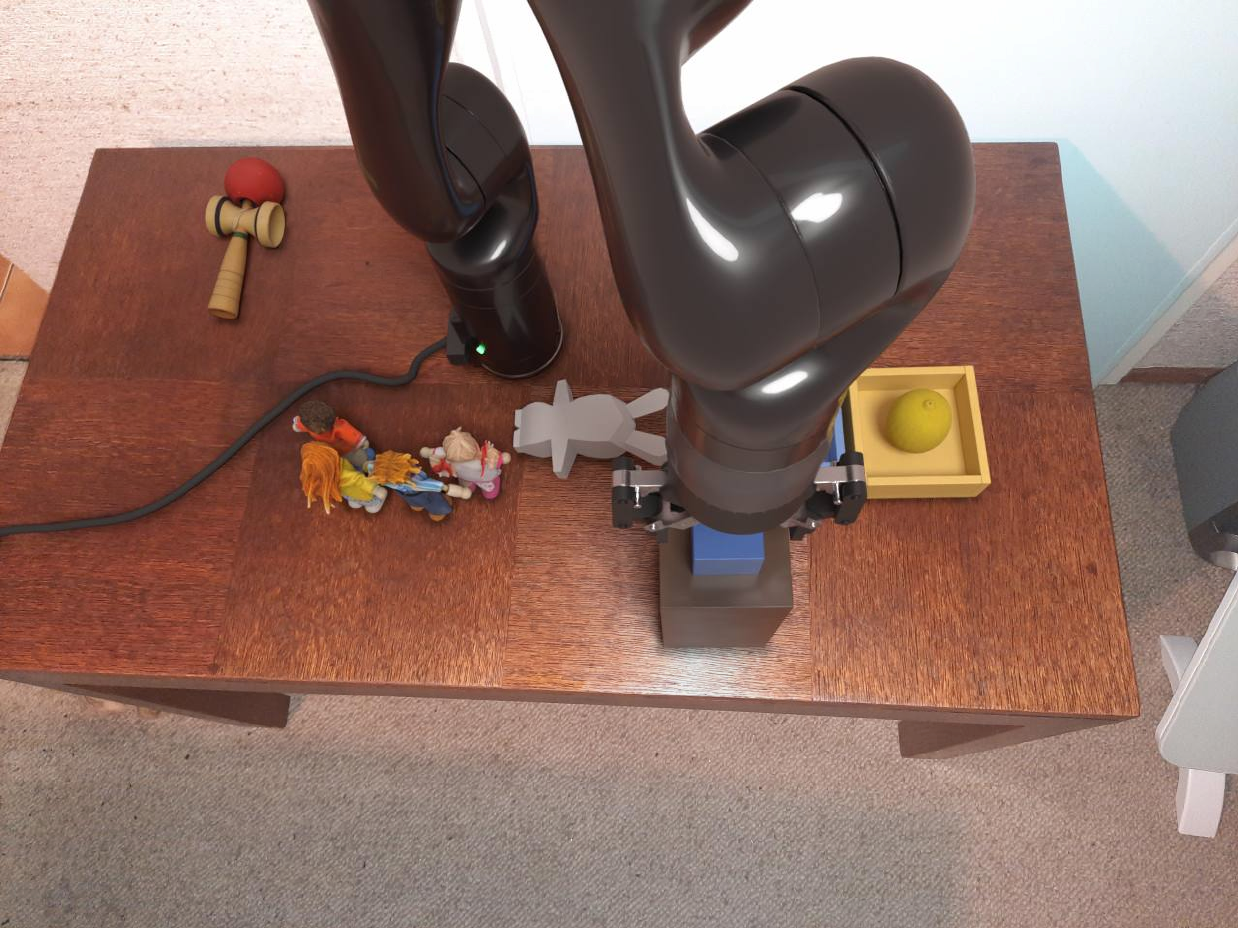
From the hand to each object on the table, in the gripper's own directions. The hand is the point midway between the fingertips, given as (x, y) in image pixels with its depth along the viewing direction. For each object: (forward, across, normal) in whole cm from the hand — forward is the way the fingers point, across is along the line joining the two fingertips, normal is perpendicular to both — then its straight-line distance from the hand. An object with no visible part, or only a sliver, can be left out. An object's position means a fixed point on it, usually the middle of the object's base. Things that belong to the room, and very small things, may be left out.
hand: (727, 527), depth 56 cm
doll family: (+24, +29, -10) cm, 39 cm away
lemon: (+24, -19, -15) cm, 34 cm away
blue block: (+4, 0, 0) cm, 4 cm away
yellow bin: (+24, -19, -15) cm, 34 cm away
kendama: (+24, +49, -39) cm, 67 cm away
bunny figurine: (+24, +11, -16) cm, 31 cm away
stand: (+24, 0, 0) cm, 24 cm away
